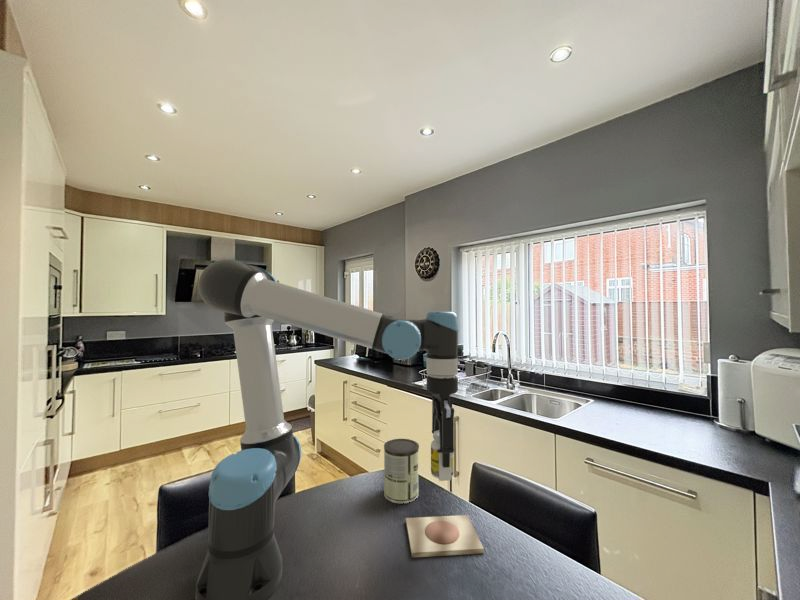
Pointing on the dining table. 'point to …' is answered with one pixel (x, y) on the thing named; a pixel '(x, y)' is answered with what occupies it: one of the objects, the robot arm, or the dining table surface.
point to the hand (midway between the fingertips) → (442, 473)
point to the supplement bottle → (435, 456)
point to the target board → (442, 536)
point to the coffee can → (401, 470)
